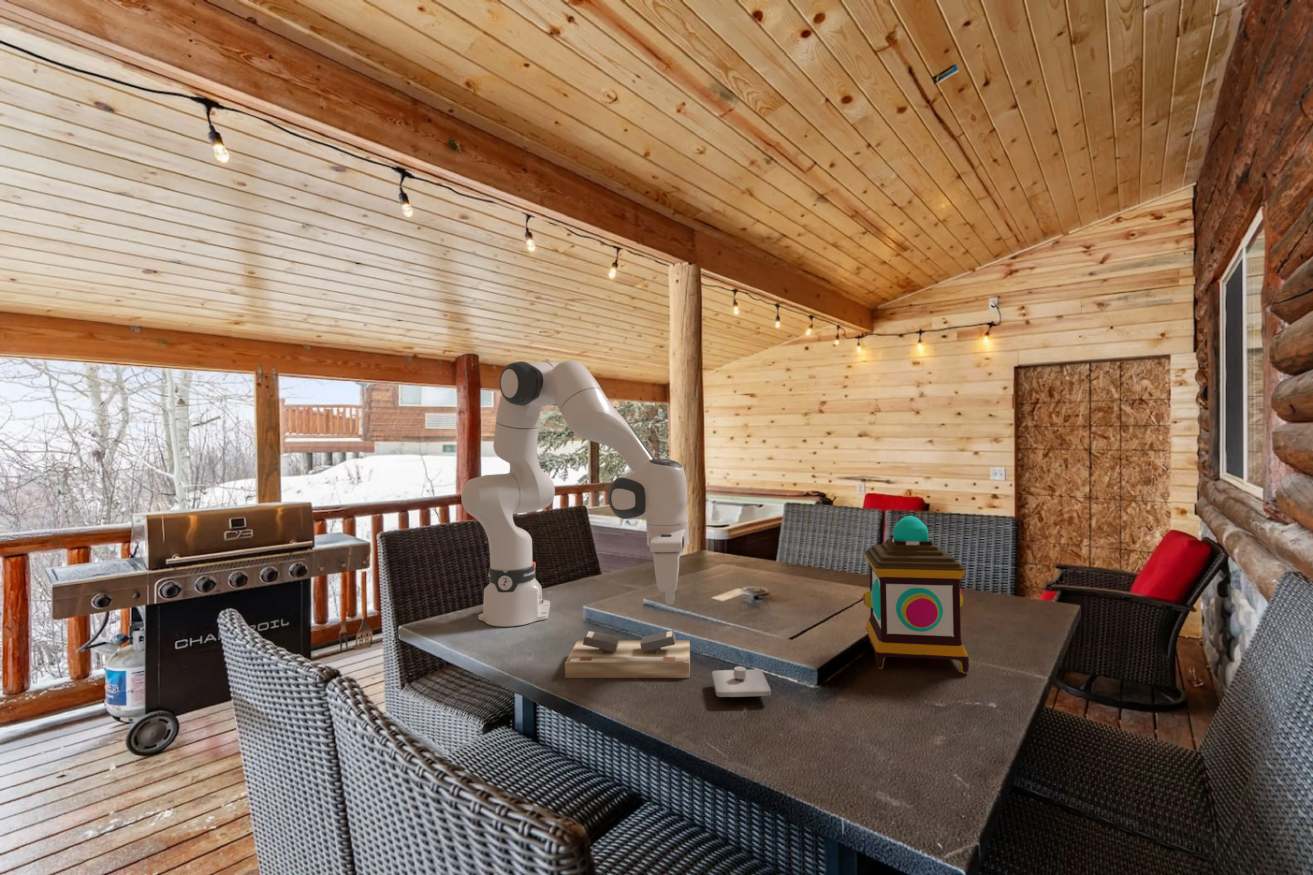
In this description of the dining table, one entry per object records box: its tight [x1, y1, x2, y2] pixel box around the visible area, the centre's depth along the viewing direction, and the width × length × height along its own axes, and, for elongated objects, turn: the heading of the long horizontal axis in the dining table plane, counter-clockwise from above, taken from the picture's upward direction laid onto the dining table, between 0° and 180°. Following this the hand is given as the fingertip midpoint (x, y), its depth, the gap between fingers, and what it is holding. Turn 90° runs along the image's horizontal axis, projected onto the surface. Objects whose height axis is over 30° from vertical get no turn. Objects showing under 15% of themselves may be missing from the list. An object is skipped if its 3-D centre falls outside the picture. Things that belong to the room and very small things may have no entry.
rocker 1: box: [583, 630, 620, 652], centre depth 127 cm, size 4×7×2 cm, turn 86°
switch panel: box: [564, 639, 691, 679], centre depth 127 cm, size 13×25×4 cm, turn 86°
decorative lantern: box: [862, 515, 970, 674], centre depth 128 cm, size 20×20×30 cm
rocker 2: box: [640, 630, 677, 652], centre depth 127 cm, size 4×7×2 cm, turn 86°
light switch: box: [711, 665, 772, 698], centre depth 112 cm, size 10×10×5 cm
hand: (670, 602), depth 126 cm, fingers closed
